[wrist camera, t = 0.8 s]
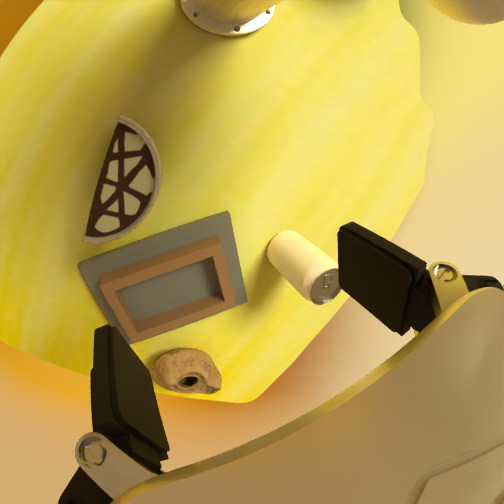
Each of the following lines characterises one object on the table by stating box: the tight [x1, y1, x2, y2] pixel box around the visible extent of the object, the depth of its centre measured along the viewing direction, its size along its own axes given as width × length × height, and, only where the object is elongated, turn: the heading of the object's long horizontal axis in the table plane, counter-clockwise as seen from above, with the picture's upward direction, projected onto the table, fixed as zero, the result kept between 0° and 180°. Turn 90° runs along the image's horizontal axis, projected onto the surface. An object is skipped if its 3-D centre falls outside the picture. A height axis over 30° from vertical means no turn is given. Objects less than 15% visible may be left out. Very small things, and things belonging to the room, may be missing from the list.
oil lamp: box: [152, 348, 222, 394], centre depth 44 cm, size 11×15×8 cm
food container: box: [82, 115, 162, 243], centre depth 25 cm, size 12×6×10 cm, turn 154°
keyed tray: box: [78, 211, 248, 345], centre depth 37 cm, size 16×22×4 cm
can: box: [267, 230, 342, 305], centre depth 39 cm, size 6×6×12 cm
